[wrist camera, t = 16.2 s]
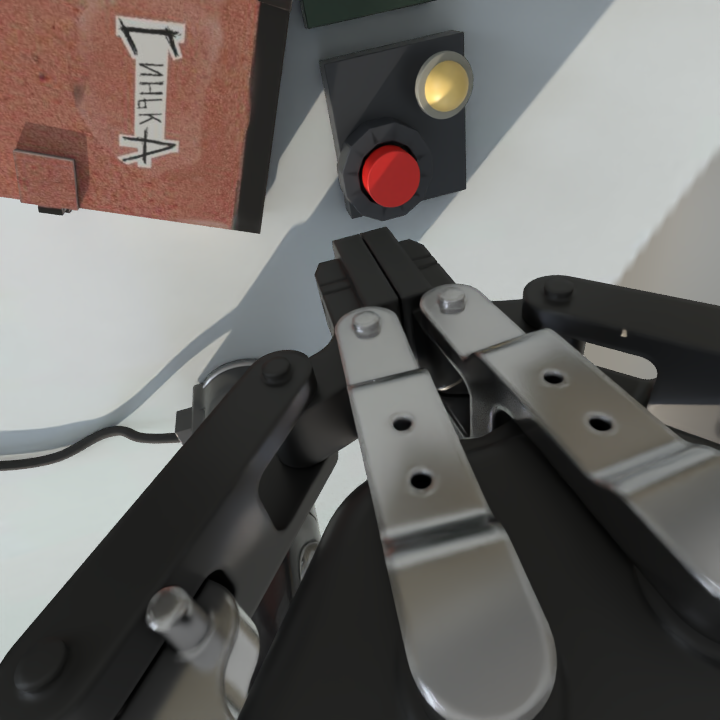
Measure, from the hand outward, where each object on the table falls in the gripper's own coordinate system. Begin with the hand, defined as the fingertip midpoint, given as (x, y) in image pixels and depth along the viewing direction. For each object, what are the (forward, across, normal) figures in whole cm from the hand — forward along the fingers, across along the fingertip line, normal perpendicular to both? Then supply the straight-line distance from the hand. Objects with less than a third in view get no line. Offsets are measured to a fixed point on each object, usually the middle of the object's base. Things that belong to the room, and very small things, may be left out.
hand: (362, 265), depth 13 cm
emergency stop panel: (+27, -9, +4) cm, 29 cm away
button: (+23, -7, +6) cm, 25 cm away
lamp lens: (+23, -12, +1) cm, 26 cm away
